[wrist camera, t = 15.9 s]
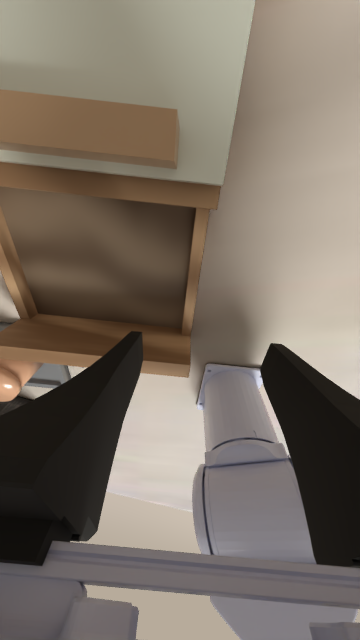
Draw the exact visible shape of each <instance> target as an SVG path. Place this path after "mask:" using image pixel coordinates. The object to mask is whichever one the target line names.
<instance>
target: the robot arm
mask: <svg viewBox="0 0 360 640" xmlns="http://www.w3.org/2000/svg"><path fill="white" fill-rule="evenodd" d="M142 363H143V338H142V332H138V331H131V332H130V333H128V334H127V335H126V336H125V337H124V338H123V339H122V340H121V341H120V342H119V343H117V344H116V345H115V346H114V347H113V348H112V349H111V350H109V351H108V352H107V353H106V354H105V355H104V356H102V357H101V358H100V359H98V360H97V361H96V362H95V363H93V364H92V365H91V366H89V367H88V368H87V369H85V370H84V371H82V372H81V373H79V374H78V375H76V376H75V377H73V378H72V379H70V380H68V381H67V382H65V383H63V384H61V385H60V386H58V387H56V388H54V389H53V390H51V391H49V392H48V393H46V394H44V395H42V396H40V397H38V398H36V399H34V400H32V401H30V402H28V403H26V404H24V405H22V406H20V407H18V408H16V409H14V410H12V411H9V412H7V413H5V414H3V415H0V640H136V629H137V621H138V614H139V611H138V608H137V607H134V606H132V604H131V603H128V602H120V601H112V600H104V599H96V598H87V591H86V588H85V586H84V585H83V584H86V585H97V586H107V587H119V588H130V589H141V590H152V591H163V592H174V593H185V594H196V595H207V596H210V600H211V603H212V604H213V606H214V608H215V609H216V610H217V612H218V613H219V614H220V615H221V617H222V618H223V619H224V620H225V622H226V623H227V624H228V625H229V626H230V628H231V629H232V630H233V631H234V632H235V634H236V635H237V636H238V637H239V638H240V639H241V640H360V623H354V622H355V619H356V617H357V613H358V609H360V400H359V399H357V398H356V397H354V396H353V395H351V394H349V393H348V392H346V391H345V390H343V389H342V388H341V387H339V386H338V385H336V384H335V383H333V382H332V381H331V380H329V379H328V378H326V377H325V376H324V375H322V374H321V373H320V372H318V371H317V370H316V369H314V368H313V367H312V366H310V365H309V364H308V363H306V362H305V361H304V360H302V359H301V358H300V357H299V356H297V355H296V354H295V353H293V352H292V351H291V350H289V349H288V348H287V347H285V346H284V345H282V344H273V343H271V344H270V346H269V349H268V351H267V353H266V356H265V358H264V361H263V363H262V365H261V368H260V369H258V368H248V367H239V366H229V365H219V364H207V365H206V367H205V371H204V376H203V380H202V384H201V389H200V393H199V398H198V402H197V409H199V410H203V414H204V430H205V445H206V452H205V464H201V465H200V466H199V467H198V470H197V472H196V474H195V476H194V481H193V493H192V502H193V518H194V526H195V533H196V538H197V542H198V545H199V548H200V551H201V554H195V553H184V552H172V551H162V550H151V549H139V548H128V547H118V546H106V545H95V544H84V543H73V542H70V541H78V542H79V541H88V540H89V539H90V538H91V537H92V536H93V535H94V534H95V533H96V532H97V530H98V524H99V520H100V516H101V511H102V506H103V502H104V498H105V493H106V489H107V484H108V480H109V476H110V472H111V467H112V463H113V459H114V455H115V451H116V447H117V443H118V439H119V435H120V432H121V428H122V424H123V421H124V417H125V414H126V411H127V409H128V406H129V403H130V400H131V398H132V395H133V392H134V390H135V387H136V384H137V381H138V378H139V376H140V372H141V367H142ZM262 383H263V384H264V387H265V390H266V392H267V395H268V397H269V400H270V402H271V405H272V407H273V409H274V412H275V414H276V417H277V419H278V421H279V424H280V426H281V429H282V432H283V434H284V437H285V441H286V444H287V447H288V450H289V454H290V455H288V456H287V453H286V451H285V448H284V446H283V444H282V443H279V441H278V438H277V436H276V433H275V431H274V428H273V425H272V423H271V420H270V417H269V415H268V412H267V409H266V407H265V404H264V402H263V399H262V396H261V394H260V391H259V389H260V387H261V385H262Z"/></svg>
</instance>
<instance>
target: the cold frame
mask: <svg viewBox="0 0 360 640" xmlns="http://www.w3.org/2000/svg"><path fill="white" fill-rule="evenodd" d="M220 188H221V186H215V185H206V184H197V183H188V182H179V181H170V180H161V179H152V178H143V177H134V176H125V175H116V174H107V173H98V172H89V171H80V170H71V169H62V168H53V167H43V166H34V165H25V164H16V163H7V162H0V270H1V273H2V275H3V277H4V280H5V282H6V285H7V287H8V290H9V292H10V294H11V297H12V299H13V302H14V304H15V306H16V309H17V311H18V314H19V316H20V319H19V320H18V321H16V322H15V323H13V324H11V325H10V326H8V327H7V328H5V329H4V330H2V331H1V332H0V359H10V360H20V361H30V362H39V363H49V364H59V365H69V366H79V367H89V366H91V365H92V364H93V363H95V362H96V361H97V360H98V359H100V358H101V357H102V356H104V355H105V354H106V353H107V352H108V351H109V350H111V349H112V348H113V347H114V346H115V345H116V344H117V343H119V342H120V341H121V340H122V339H123V338H124V337H125V336H126V335H127V334H128V333H130V332H131V331H138V332H142V338H143V363H142V367H141V372H140V373H147V374H157V375H167V376H177V377H187V378H188V377H189V371H190V336H191V329H192V323H193V316H194V309H195V303H196V296H197V290H198V283H199V276H200V270H201V263H202V257H203V250H204V243H205V237H206V230H207V224H208V217H209V210H210V209H216V210H217V206H218V200H219V194H220Z"/></svg>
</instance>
